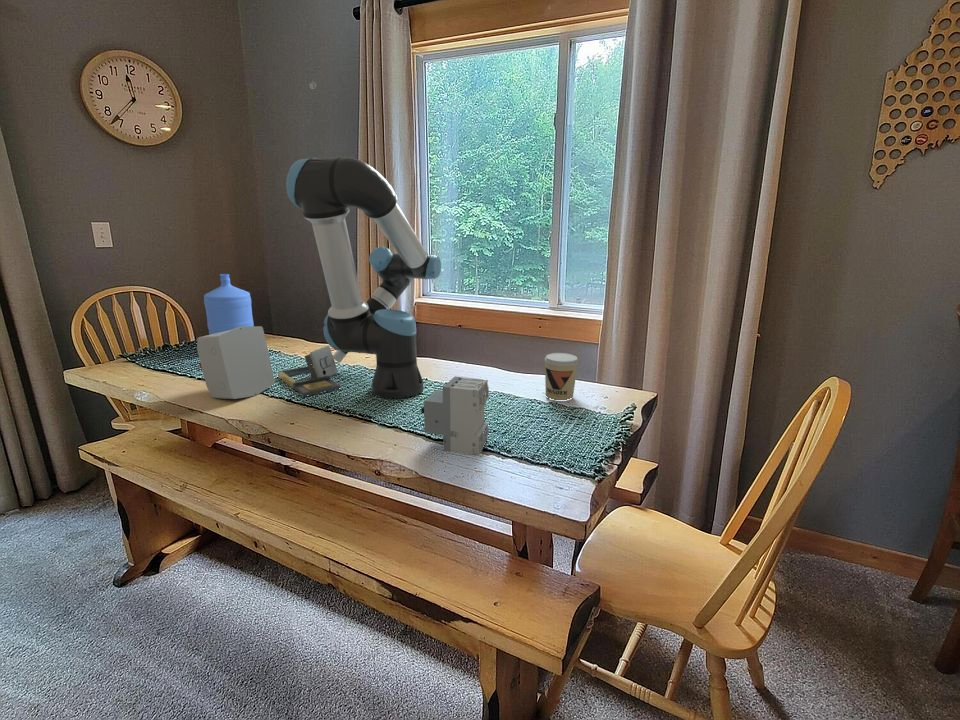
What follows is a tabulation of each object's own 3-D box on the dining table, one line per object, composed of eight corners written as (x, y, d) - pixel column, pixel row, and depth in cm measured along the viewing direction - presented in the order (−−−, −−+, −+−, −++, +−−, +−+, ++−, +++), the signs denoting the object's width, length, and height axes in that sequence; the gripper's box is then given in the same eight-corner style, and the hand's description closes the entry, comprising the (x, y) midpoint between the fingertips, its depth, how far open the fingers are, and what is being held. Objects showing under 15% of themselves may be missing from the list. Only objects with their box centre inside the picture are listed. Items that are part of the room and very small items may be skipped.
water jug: (246, 354, 184) (236, 277, 176) (203, 354, 184) (191, 276, 176) (263, 343, 199) (255, 272, 191) (223, 343, 199) (213, 271, 191)
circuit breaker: (430, 433, 120) (429, 373, 116) (487, 441, 116) (488, 379, 112) (417, 446, 113) (416, 383, 109) (478, 455, 110) (479, 390, 105)
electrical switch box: (242, 387, 156) (227, 323, 152) (276, 387, 150) (261, 321, 145) (199, 402, 144) (181, 333, 139) (233, 403, 137) (216, 331, 133)
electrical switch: (320, 381, 155) (315, 352, 153) (306, 381, 157) (301, 352, 155) (338, 373, 164) (334, 345, 161) (325, 372, 166) (320, 345, 163)
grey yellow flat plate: (340, 389, 149) (340, 382, 149) (304, 397, 143) (303, 390, 142) (312, 371, 166) (312, 365, 165) (278, 377, 159) (277, 371, 158)
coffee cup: (539, 400, 142) (541, 359, 139) (547, 389, 151) (549, 351, 147) (572, 404, 139) (574, 363, 136) (578, 394, 147) (581, 354, 144)
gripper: (396, 313, 166) (352, 371, 161) (378, 307, 176) (336, 361, 170) (381, 299, 161) (335, 358, 156) (363, 294, 171) (319, 349, 166)
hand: (335, 360), depth 163 cm, fingers closed
